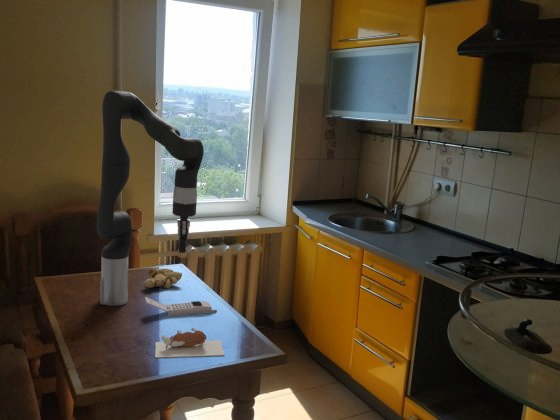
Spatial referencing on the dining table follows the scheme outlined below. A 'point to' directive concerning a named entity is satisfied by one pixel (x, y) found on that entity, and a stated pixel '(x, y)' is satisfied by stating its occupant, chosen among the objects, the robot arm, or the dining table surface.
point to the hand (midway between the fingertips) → (182, 252)
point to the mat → (189, 350)
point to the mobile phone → (183, 307)
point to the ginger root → (162, 278)
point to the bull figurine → (185, 339)
